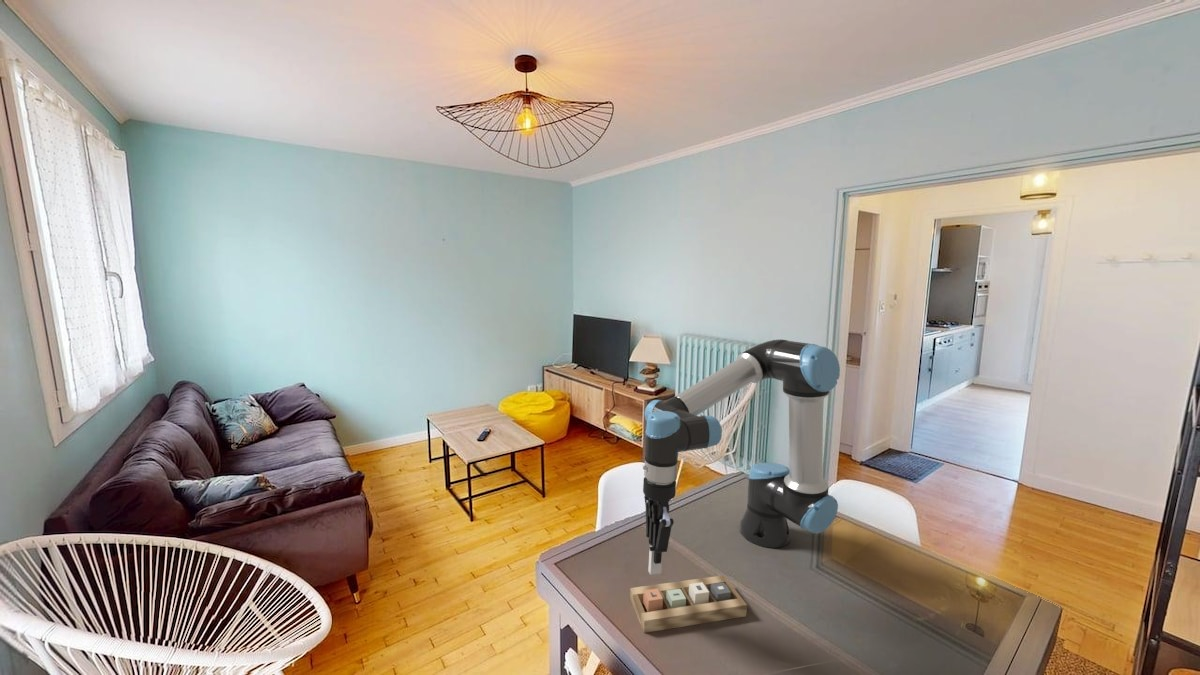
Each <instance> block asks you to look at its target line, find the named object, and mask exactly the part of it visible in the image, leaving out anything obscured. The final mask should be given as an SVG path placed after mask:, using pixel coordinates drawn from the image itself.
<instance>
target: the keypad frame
mask: <svg viewBox="0 0 1200 675" xmlns="http://www.w3.org/2000/svg"><path fill="white" fill-rule="evenodd" d="M700 582H703V584H704V585H705V587H706V588H707V590H708V591H709V601H708V603H705V604H698V605H694V604H693V602H692V601H691V599H690V597H689V584H693V583H700ZM723 582H724V583H725V585H726V586H727V587H728V589H729V590H730V591H731V600H724V601H718V602H717V601H716V600H715V598H714V597H713V595H712V594H711V592H710V590H711V584H716V583H723ZM657 588H658V590H659V592H660V594H661V596H662V598H663V608H662V610H659V611H652V612H647V611H645V608H644V607H643V605H644V603H643V595H644V590H650V589H657ZM629 589H630V590H629V601H630V603H631V606H632V607H633V609H634V612H635V615H636V616H637V619H638V622H639V624H640V626H641V630H642V631H643V633H644V634H645V633H651V632H657V631H663V630H668V629H675V628H682V627H688V626H694V625H699V624H707V623H712V622H721V621H724V620H731V619H735V618H736V619H737V618H743V617H747V608H748V604H747V603H746V602H745V600H744V599H743V598H742V596H741V595H740V594H739V592H738V591H737V590H736V589H735V588H734V586H733V585H732V584H731V582H730V580H728V578H727V577H726V576H725V575H724V574H723V575H722V574H721V575H716V576H715V575H714V576H709V577H703V578H702V577H701V578H694V579H687V580H680V581H678V580H677V581H674V582H673V581H672V582H664V583H658V584H657V583H655V584H651V585H643V586H642V585H641V586H637V587H630V588H629ZM674 589H681V591H682V593H683V594H684V596H685V598H686V606H685V607H678V608H672V609H670V607H669V605H668V603H667V601H666V592H667V590H674Z"/></svg>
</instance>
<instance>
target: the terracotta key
mask: <svg viewBox="0 0 1200 675" xmlns="http://www.w3.org/2000/svg"><path fill="white" fill-rule="evenodd" d="M643 603H644V604H643V605H644V607H645V608H644V609H645V610H646V612H652V611H659V610H662V608H663V598H662V596H661V594H660V592H659V590H658V588H657V589H650V590H644V595H643Z"/></svg>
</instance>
